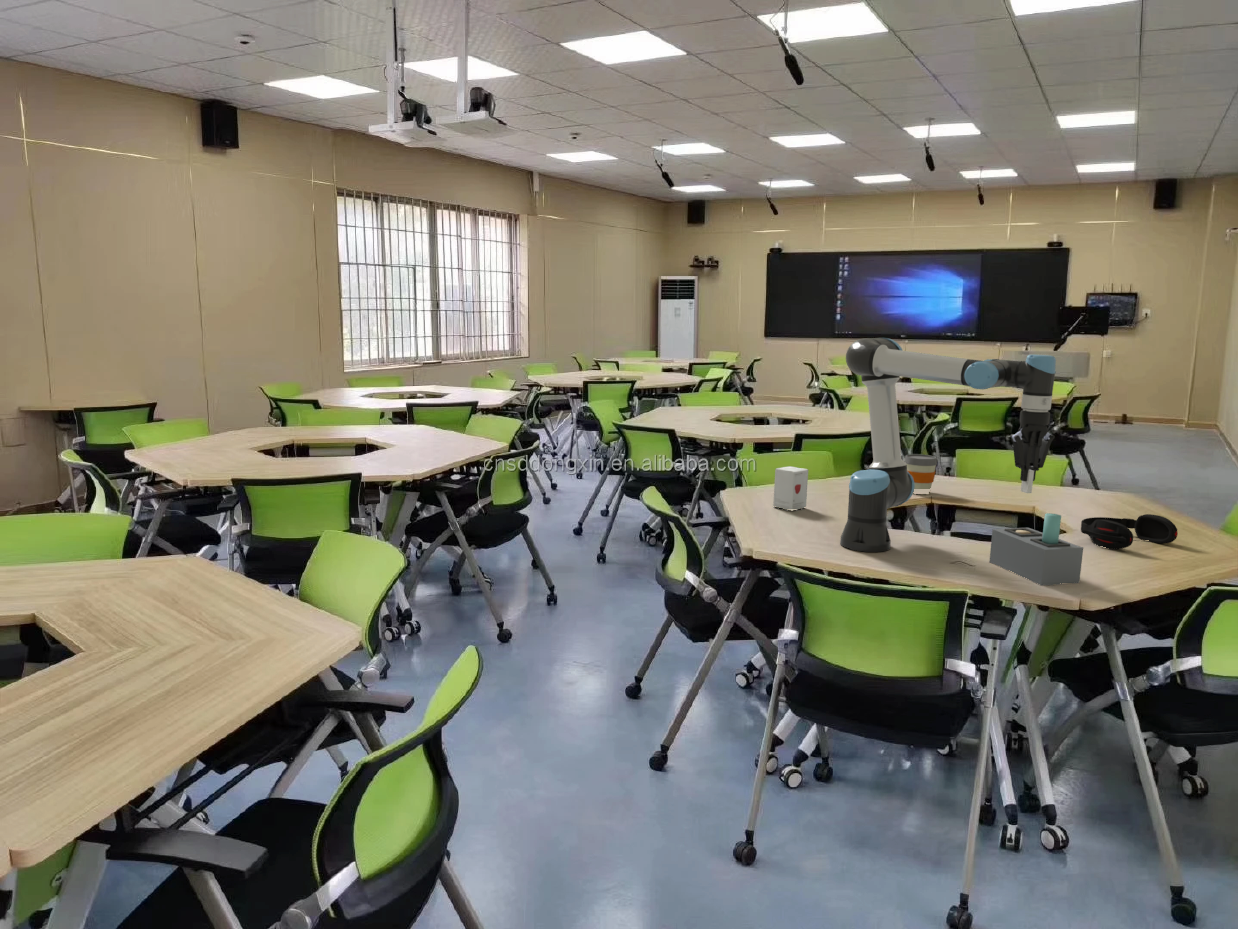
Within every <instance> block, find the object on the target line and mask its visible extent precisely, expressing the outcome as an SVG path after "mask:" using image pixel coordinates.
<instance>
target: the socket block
mask: <svg viewBox="0 0 1238 929" xmlns="http://www.w3.org/2000/svg"><path fill="white" fill-rule="evenodd" d="M1016 530H1024V531H1029V532H1031V534H1020V533H1017V532H1016ZM1042 537H1043V531H1042V532H1041V531H1039V530H1036V529H1033V528H1030V527H1014V528H994V529H992V531H991V541H990V551H989V553H990V554H989V560H988V561H989V563H991V564H992V565H995V564H996V565H995V566H997V565H998V566H997V567H999V566H1000V568H1001V567H1002V569H1004V570H1005V571H1008V570H1010V571H1012V572H1014V573H1013V574H1015V573H1016V574H1015V575H1017V574H1018V575H1017V576H1019V575H1020V576H1019V577H1021V576H1022V577H1021V578H1024V577H1025V578H1024V579H1026V578H1027V579H1026V580H1028V579H1029V580H1028V581H1031V582H1033V583H1035V584H1037V583H1038V585H1039V584H1040V585H1039V586H1054V585H1053V584H1056V585H1063V584H1062V583H1072V584H1080V581H1081V580H1080V579H1081V572H1082V564H1083V563H1082V562H1083V555H1084V554H1083V553H1084V547H1083V546H1080V545H1077V544H1074V543H1072V542H1068V541H1066V540H1064V539H1060V538H1059V540H1058V544H1046V543H1044V542H1042ZM1010 571H1009V572H1010ZM1012 572H1011V573H1012ZM1060 583H1061V584H1060Z"/></svg>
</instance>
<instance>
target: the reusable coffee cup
mask: <svg viewBox="0 0 1238 929" xmlns="http://www.w3.org/2000/svg"><path fill="white" fill-rule="evenodd" d="M903 461H904V462H905V463H906V464H907V471H908V472H909V474H910V475H911V476H912V477H913V480H914V484H915V487H914V489H930V488H931V489H932V484H933V483H934V481H935V477H936V476H935V475H936V467H937V465H938V459H937V457H936V456H935V455H929V454H922V453H921V454H919V453H910V454H906V455H905V457H904V460H903Z"/></svg>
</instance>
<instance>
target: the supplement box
mask: <svg viewBox="0 0 1238 929" xmlns="http://www.w3.org/2000/svg"><path fill="white" fill-rule="evenodd" d="M808 481H809V469H807V468H802V467H801V468H800V467H796V466H782V467H777V468H775V472H774V486H773V487H774V488H773V504H772V507H773V506H776V507H780V508H784V509H800V508H804V507H806V508H807V500H808V499H807V498H808Z"/></svg>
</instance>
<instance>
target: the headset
mask: <svg viewBox="0 0 1238 929" xmlns="http://www.w3.org/2000/svg"><path fill="white" fill-rule="evenodd" d="M1131 529H1132V530H1133V529H1134V533H1135V535H1136V537H1137V538H1138V539H1140V540H1142V539H1143V540H1142V541H1143V542H1146V543H1147V542H1148V543H1153V542H1156V543H1155V544H1170V543H1173V542H1175V541H1176V540H1177V538H1178V528H1177V527H1176V524H1175V523H1174V522H1172V521H1171V520H1170V519H1169V518H1167V517H1164V516H1162V515H1158V514H1157V515H1156V514H1149V513H1148V514H1146V513H1145V514H1141V515H1138V516H1137V518H1136V519H1133V518H1126V517H1124V518H1123V517H1122V518H1118V517H1105V516H1104V517H1103V516H1098V517H1087V518H1084V519H1082V520H1081V523H1080V532H1081V533H1082V534H1084V535H1087V536H1088V537H1089V538H1090V539H1091V542H1092V543H1093V544H1094V545H1095V544H1096V545H1095V546H1097V545H1098V546H1097V547H1100V546H1103V547H1106V548H1109V549H1108V550H1123V549H1125V548H1129V547H1130V546H1132V544H1133V542H1134V541H1136V542H1138V540H1136V539H1134V534H1133V532H1132V530H1131ZM1145 540H1149V541H1145ZM1103 547H1102V548H1103ZM1106 548H1105V549H1106Z"/></svg>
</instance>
